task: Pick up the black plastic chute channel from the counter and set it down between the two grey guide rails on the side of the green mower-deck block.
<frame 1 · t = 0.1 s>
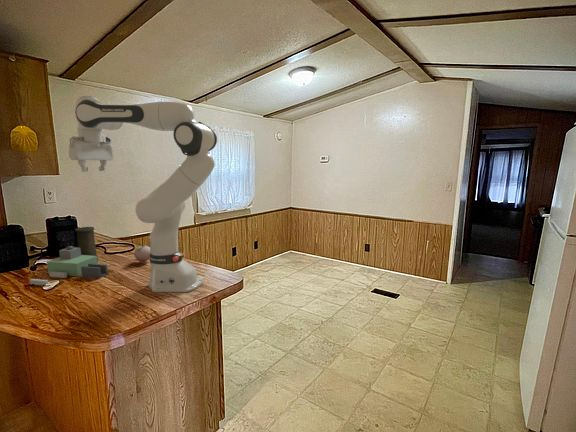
hand: (93, 171, 133), 48 cm above the table, tool pointing down, fingers open, 8 cm apart
chute: (95, 276, 144), on the table
deck: (74, 270, 150), on the table
container: (88, 262, 163), on the table
decorative fruit: (144, 262, 163), on the table
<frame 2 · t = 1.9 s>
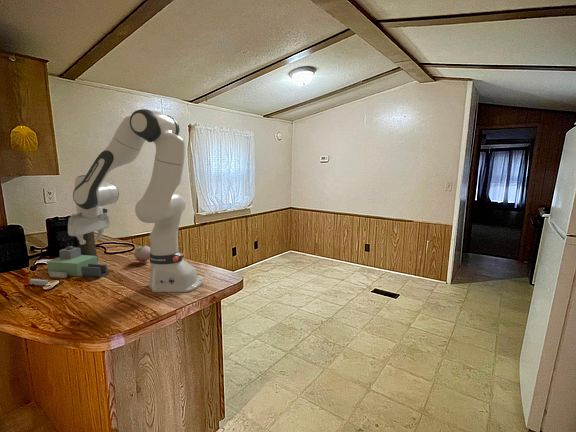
hand: (91, 241, 141), 16 cm above the table, tool pointing down, fingers open, 8 cm apart
nothing on the table moved.
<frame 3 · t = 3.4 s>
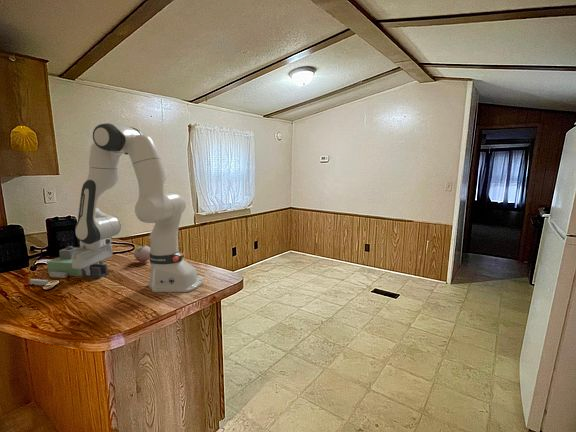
hand: (94, 272, 143), 2 cm above the table, tool pointing down, fingers closed on chute, 5 cm apart
chute: (95, 276, 144), on the table, touching gripper
everything else where it was.
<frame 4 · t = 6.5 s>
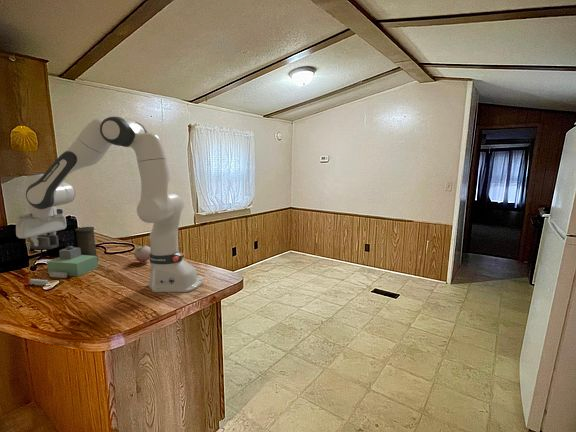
hand: (44, 243, 135), 17 cm above the table, tool pointing down, fingers closed on chute, 5 cm apart
chute: (45, 247, 135), point 15 cm above the table, touching gripper
everything else where it was.
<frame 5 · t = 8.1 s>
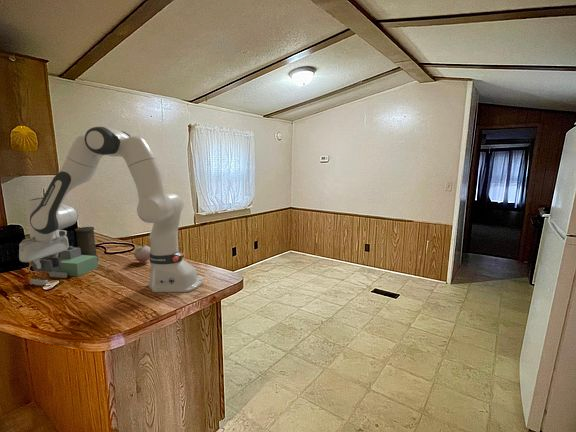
hand: (47, 265, 136), 7 cm above the table, tool pointing down, fingers closed on chute, 5 cm apart
chute: (47, 269, 137), point 5 cm above the table, touching gripper
everything else where it was.
when the fingers open (4 cm above the table, at t = 9.2 s): chute drops 2 cm, on the table.
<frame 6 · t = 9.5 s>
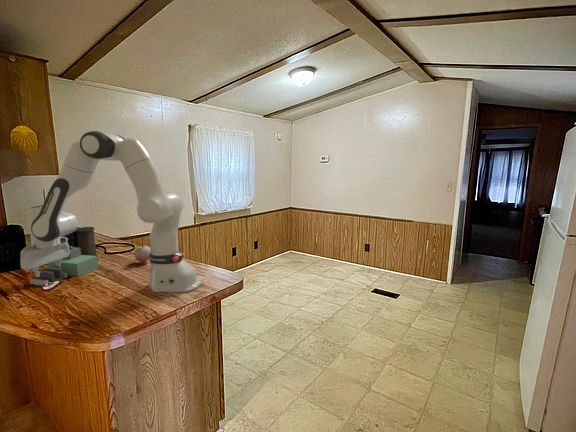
hand: (48, 272, 137), 4 cm above the table, tool pointing down, fingers open, 8 cm apart
chute: (49, 280, 137), on the table
everything else where it was.
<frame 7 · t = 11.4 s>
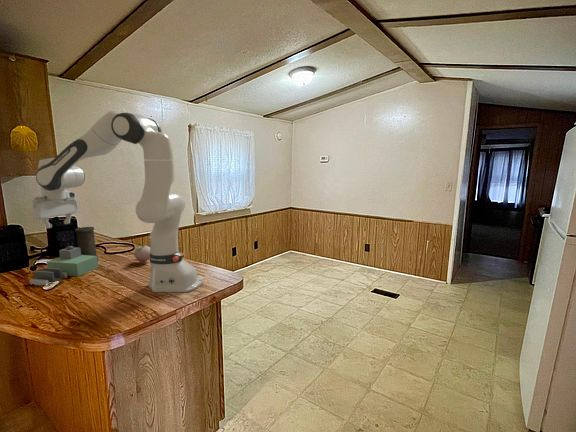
hand: (58, 225, 140), 23 cm above the table, tool pointing down, fingers open, 8 cm apart
nothing on the table moved.
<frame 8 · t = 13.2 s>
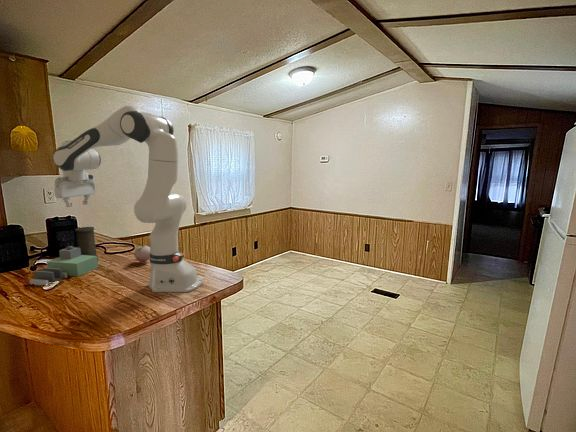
hand: (77, 205, 148), 31 cm above the table, tool pointing down, fingers open, 8 cm apart
nothing on the table moved.
at the end: chute inside the target area on the deck (0.0 cm from its centre), point 0.0 cm above the deck's base; chute tilted 0°; the gripper is holding nothing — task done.
